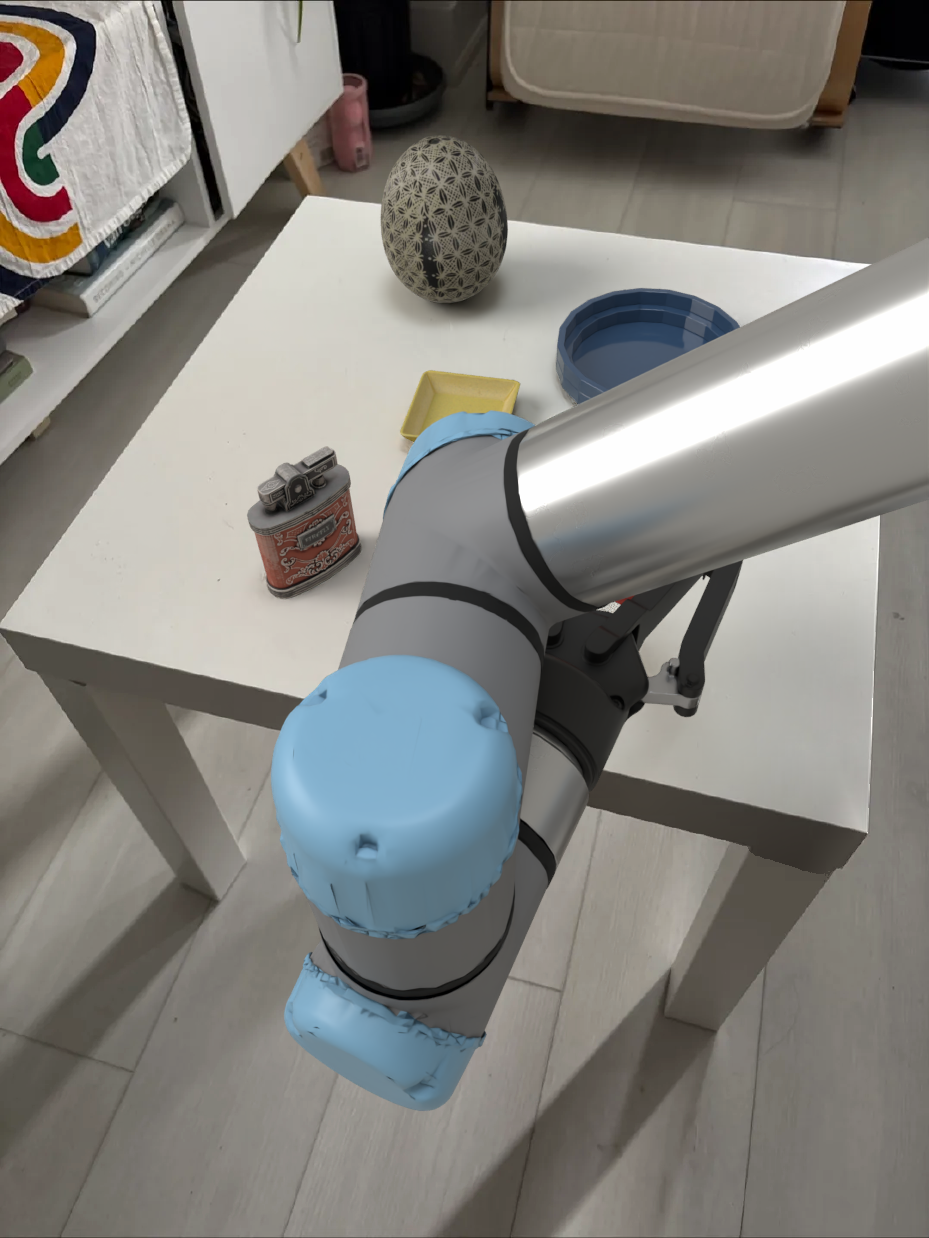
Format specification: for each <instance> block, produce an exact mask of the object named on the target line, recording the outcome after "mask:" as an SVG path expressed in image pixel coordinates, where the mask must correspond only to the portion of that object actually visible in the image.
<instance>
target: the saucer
mask: <svg viewBox="0 0 929 1238" xmlns="http://www.w3.org/2000/svg"><path fill="white" fill-rule="evenodd" d="M520 387H521V383H520V382H519V381H518V380H515V379H509V378H500V377H491V376H482V375H474V374H467V373H466V374H465V373H457V372H449V371H441V370H433V369H429V370H426V371H424V372H423V373H422V374H421V376H420V379H419V381H418V384H417V387H416V389H415V392H414V394H413V397H412V400H411V402H410V405H409V407H408V410H407V413H406V415H405V417H404V419H403V423H402V425H401V427H400V430H399V434H400V435H401V437H403V438H404V439H406V440H407V441H409V442H411V443H414V442H415V440H416V439H417V437H418V436H419V435H420V434H421V433H422V432H423V431H424V430H425V429H426V428H428V427H429V426H430V425H432V424H433V423H434V422H436V421H438V420H440V419H442V418H444V417H446V416H449V415H451V414H454V413H458V412H463V411H464V412H467V413H487V412H489V411H491V410H493V411H500V412H506V413H509V414H512V415H513V411H514V408H515V403H516V402H517V401H516V400H517V397H518V394H519V391H520Z"/></svg>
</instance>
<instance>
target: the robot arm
mask: <svg viewBox="0 0 929 1238" xmlns="http://www.w3.org/2000/svg"><path fill="white" fill-rule="evenodd" d="M928 500H929V236H928V237H925V238H924V239H921V240H920V241H917V242H915V243H913V244H911V245H909V246H907V247H904V248H903V249H901V250H899V251H897V252H895V253H892V254H890V255H888V256H886V257H884V258H881V259H879V260H878V261H876V262H874V263H871V264H869V265H867V266H864V267H863V268H861V269H859V270H857V271H854V272H852V273H850V274H848V275H846V276H844V277H842V278H840V279H838V280H835V281H834V282H832V283H829V284H827V285H825V286H823V287H821V288H819V289H817V290H815V291H813V292H810V293H808V294H807V295H805V296H803V297H800V298H798V299H796V300H794V301H792V302H790V303H788V304H785V305H784V306H781V307H780V308H777V309H776V310H773V311H771V312H769V313H766V314H764V315H762V316H761V317H758V318H756V319H754V320H752V321H750V322H748V323H746V324H744V325H742V326H740V328H737V329H735V330H733V331H731V332H729V333H727V334H725V335H723V336H721V337H719V338H717V339H714V340H712V341H710V342H708V343H706V344H704V345H702V346H700V347H698V348H696V349H694V350H691V351H689V352H687V353H685V354H683V355H681V356H679V357H677V358H675V359H673V360H671V361H668V362H666V363H664V364H662V365H660V366H658V367H656V368H654V369H652V370H650V371H648V372H645V373H643V374H641V375H639V376H637V377H635V378H633V379H631V380H629V381H627V382H625V383H622V384H620V385H618V386H616V387H614V388H612V389H610V390H608V391H606V392H604V393H602V394H600V395H597V396H595V397H593V398H591V399H589V400H587V401H585V402H583V403H581V404H576V405H574V406H573V407H570V408H568V409H566V410H564V411H562V412H560V413H558V414H555V415H554V416H552V417H549V418H547V419H545V420H543V421H541V422H539V423H538V424H535V423H533V422H531V421H529V420H527V419H525V418H522V417H520V416H517V415H515V414H513V413H512V414H509V413H506V412H500V411H493V410H491V411H489V412H487V413H467V412H464V411H463V412H458V413H454V414H451V415H449V416H446V417H444V418H442V419H440V420H438V421H436V422H434V423H433V424H432V425H430V426H429V427H428V428H426V429H425V430H424V431H423V432H422V433H421V434H420V435H419V436H418V437H417V439H416V440H415V442H412V445H411V446H410V449H409V450H408V452H407V455H406V457H405V460H404V461H403V464H402V467H401V468H400V471H399V474H398V476H397V478H396V480H395V483H394V484H393V485H391V487H390V489H389V491H388V493H387V497H386V501H385V505H384V508H383V513H382V522H381V526H380V529H379V533H378V536H377V540H376V543H375V546H374V550H373V553H372V557H371V560H370V564H369V568H368V571H367V575H366V577H365V582H364V585H363V588H362V591H361V595H360V598H359V601H358V606H357V609H356V612H355V616H354V619H353V622H352V625H351V628H350V630H349V633H348V636H347V640H346V643H345V646H344V649H343V652H342V655H341V658H340V662H339V665H338V668H337V670H335V671H333V672H332V673H330V674H328V675H326V677H324V678H323V679H322V680H321V681H320V683H319V684H318V685H317V687H315V688H314V689H313V690H312V691H311V692H310V693H308V695H307V696H306V697H304V698H303V699H302V701H301V702H300V703H299V704H298V705H296V706H295V707H294V708H293V710H291V711H290V712H289V713H288V715H287V716H286V718H285V720H284V722H283V723H282V726H281V729H280V732H279V733H278V736H277V739H276V742H275V744H274V747H273V752H272V758H271V759H272V760H271V767H270V768H271V769H270V786H271V787H270V788H271V794H272V799H273V803H274V807H275V819H276V821H277V824H278V827H279V828H280V831H281V832H280V837H279V842H280V845H281V847H282V849H283V852H284V853H285V855H286V866H288V868H289V869H290V872H291V875H292V877H293V878H294V880H295V882H296V883H297V885H298V887H299V888H300V889H301V890H302V893H303V894H304V896H305V899H306V901H307V903H308V906H309V908H310V910H311V912H312V914H313V916H314V918H315V921H316V924H317V926H318V931H319V935H320V938H321V939H320V940H319V942H318V944H316V947H315V948H314V949H313V951H310V952H308V953H307V954H306V956H305V958H304V959H303V963H302V969H301V971H300V972H299V976H298V977H297V979H296V982H295V984H294V987H293V989H292V991H291V993H290V995H289V997H288V999H287V1001H286V1004H285V1007H284V1012H283V1019H284V1024H285V1028H286V1030H287V1032H288V1034H289V1035H290V1036H291V1038H292V1039H293V1040H294V1041H295V1043H297V1044H298V1045H299V1046H300V1047H301V1048H302V1049H303V1050H304V1051H305V1052H307V1053H308V1054H309V1055H311V1056H312V1057H313V1058H314V1059H316V1060H317V1061H318V1062H321V1064H323V1065H325V1066H326V1067H327V1068H329V1069H330V1070H332V1071H334V1072H335V1073H337V1074H338V1075H339V1076H341V1077H342V1078H344V1079H346V1080H347V1081H349V1082H351V1083H353V1084H354V1085H356V1086H358V1087H359V1088H362V1089H363V1090H365V1091H367V1092H369V1093H370V1094H373V1095H375V1096H377V1097H379V1098H381V1099H383V1100H386V1101H388V1102H389V1103H392V1104H395V1105H398V1106H400V1107H403V1108H406V1109H409V1110H413V1111H418V1112H429V1111H433V1110H434V1111H435V1110H437V1109H439V1108H441V1107H442V1106H444V1105H445V1104H446V1103H447V1102H448V1101H449V1100H450V1099H451V1097H452V1096H453V1094H454V1092H455V1090H456V1089H457V1086H458V1085H459V1083H460V1081H461V1079H462V1076H464V1073H465V1071H466V1069H467V1067H468V1066H469V1064H470V1061H471V1059H472V1057H473V1056H474V1053H475V1052H476V1050H477V1049H478V1048H481V1047H482V1046H483V1044H484V1042H485V1040H486V1038H487V1032H486V1028H487V1026H488V1024H489V1021H490V1019H491V1017H492V1015H493V1012H494V1010H495V1008H496V1005H497V1003H498V1001H499V998H500V997H501V994H502V992H503V989H504V987H505V985H506V983H507V981H508V979H509V978H508V977H509V976H510V973H511V971H512V969H513V967H514V965H515V962H516V959H517V958H518V954H519V953H520V951H521V949H522V946H523V944H524V941H525V939H526V937H527V935H528V933H529V930H530V928H531V926H532V923H533V921H534V919H535V917H536V914H537V912H538V909H539V907H540V905H541V903H542V901H543V899H544V896H545V893H546V891H547V889H549V887H550V884H551V883H552V881H553V878H554V877H555V874H556V872H557V869H558V868H559V865H560V863H561V861H562V859H563V857H564V855H565V852H566V851H567V848H568V846H569V844H570V842H571V840H572V838H573V836H574V833H575V831H576V828H577V827H578V825H579V823H580V820H581V818H582V816H583V814H584V812H585V810H586V807H587V805H588V802H589V800H590V792H591V791H593V789H595V787H596V786H597V784H598V782H599V780H600V777H601V776H602V773H603V771H604V769H605V767H606V765H607V762H608V760H609V757H610V756H611V754H612V752H613V749H614V747H615V745H616V742H617V740H618V738H619V736H620V734H621V732H622V729H623V727H624V725H625V724H626V723H627V721H628V720H629V719H630V718H631V717H633V716H634V715H636V714H637V713H639V712H640V711H641V710H642V709H643V708H644V706H645V705H646V704H649V705H663V706H672V707H673V711H674V712H675V713H676V714H677V715H678V716H680V717H681V718H682V717H683V718H691V717H693V716H695V715H696V714H697V712H698V709H699V705H700V702H701V698H702V695H703V692H704V688H705V685H706V684H705V683H706V670H705V668H706V667H705V661H706V659H707V656H708V654H709V652H710V649H711V647H712V644H713V642H714V640H715V637H716V635H717V633H718V630H719V629H720V625H721V623H722V621H723V619H724V616H725V614H726V611H727V609H728V607H729V604H730V602H731V599H732V596H733V594H734V593H735V590H736V587H737V583H738V580H739V576H740V573H741V570H742V566H743V563H744V561H745V560H747V559H750V558H753V557H756V556H759V555H762V554H765V553H768V552H772V551H775V550H778V549H781V548H784V547H787V546H791V545H793V544H796V543H800V542H802V541H805V540H809V539H812V538H815V537H818V536H821V535H824V534H827V533H831V532H833V531H837V530H839V529H843V528H845V527H849V526H852V525H855V524H858V523H861V522H864V521H867V520H871V519H874V518H876V517H879V516H883V515H886V514H889V513H891V512H894V511H895V512H896V511H898V510H901V509H903V508H907V507H910V506H913V505H917V504H919V503H923V502H925V501H928ZM706 577H707V578H709V579H708V581H707V583H706V586H705V588H704V590H703V593H702V595H701V598H700V599H699V601H698V604H697V605H696V606H697V607H696V609H695V610H694V613H693V615H692V617H691V620H690V622H689V624H688V627H687V629H686V630H685V633H684V635H683V638H682V640H681V643H680V646H679V651H678V656H677V657H671V658H670V659H669V660H668V661H666V662H664V663H663V664H662V665H661V667H660V670H659V672H658V673H656V674H655V675H653V676H648V673H647V670H646V667H645V665H644V663H643V659H642V657H641V656H642V655H641V654H640V650H641V648H642V646H643V645H644V643H645V640H646V639H647V638H648V637H649V636H650V635H651V634H652V632H653V631H654V630H655V629H656V628H657V627H658V626H659V624H660V623H661V622H662V621H663V620H664V619H665V618H666V617H667V616H668V614H669V613H670V612H671V611H672V610H673V609H674V608H675V607H676V606H677V605H678V604H679V602H680V601H681V600H682V599H683V598H684V597H685V596H686V595H687V594H688V592H689V591H690V590H691V589H692V588H693V587H694V586H695V585H696V584H697V582H698V581H699V580H700V579H701V578H702V580H703V581H705V579H706ZM634 595H635V596H634ZM631 596H634V597H633V598H632V599H626V600H625V601H624V602H623V603H622V604H621V605H620V604H619V606H618V607H617V609H615V611H613V612H610V611H607V610H601V609H603V608H606V607H607V606H608V605H610V604H612V603H616V602H615V601H618V600H621V599H625V598H628V597H631Z"/></svg>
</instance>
